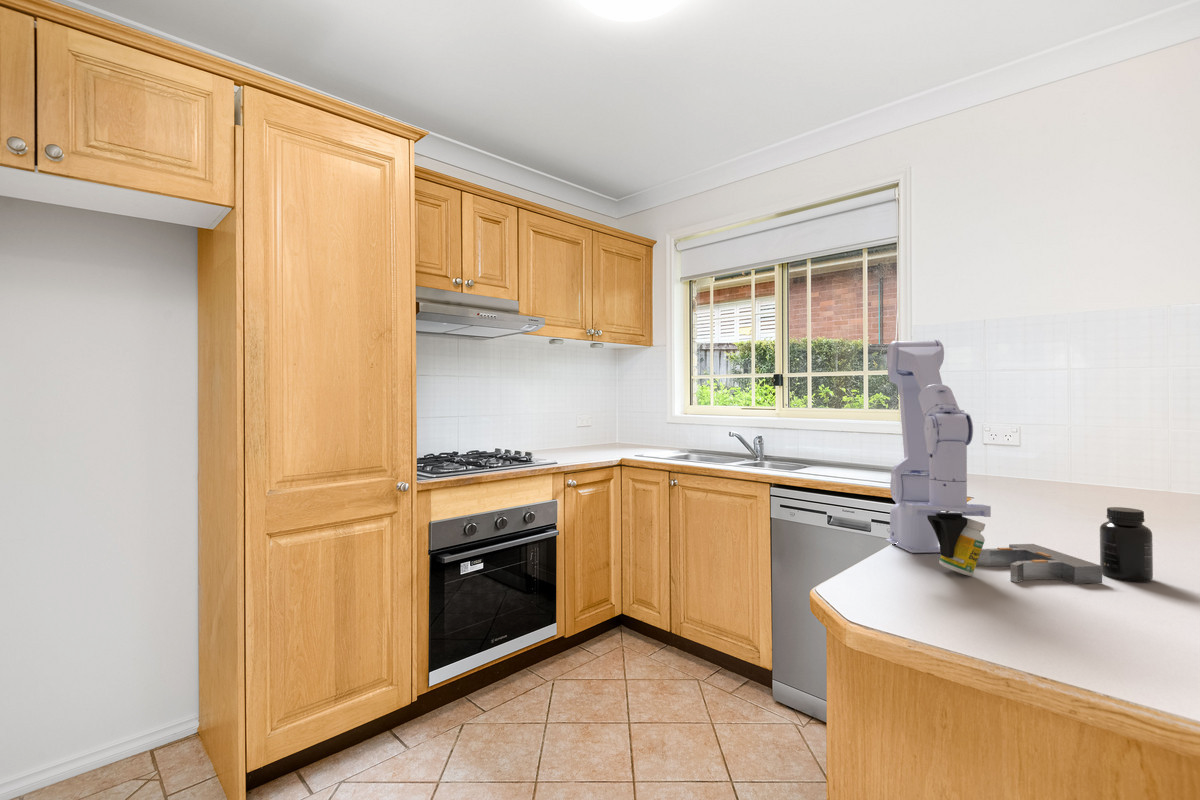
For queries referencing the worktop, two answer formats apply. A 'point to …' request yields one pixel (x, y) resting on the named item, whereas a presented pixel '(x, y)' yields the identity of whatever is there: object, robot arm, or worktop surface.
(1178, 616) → the worktop surface
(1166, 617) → the worktop surface
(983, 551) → the grey pronged bracket
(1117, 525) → the supplement bottle
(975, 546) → the supplement bottle
